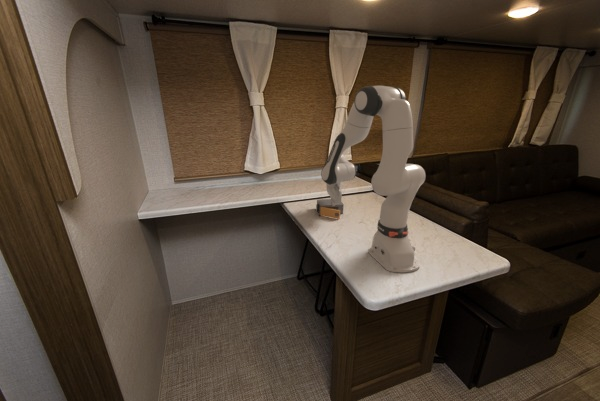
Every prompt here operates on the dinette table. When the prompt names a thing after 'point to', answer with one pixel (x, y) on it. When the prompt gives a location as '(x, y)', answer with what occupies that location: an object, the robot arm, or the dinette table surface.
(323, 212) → the side door
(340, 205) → the camera block
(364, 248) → the dinette table surface
